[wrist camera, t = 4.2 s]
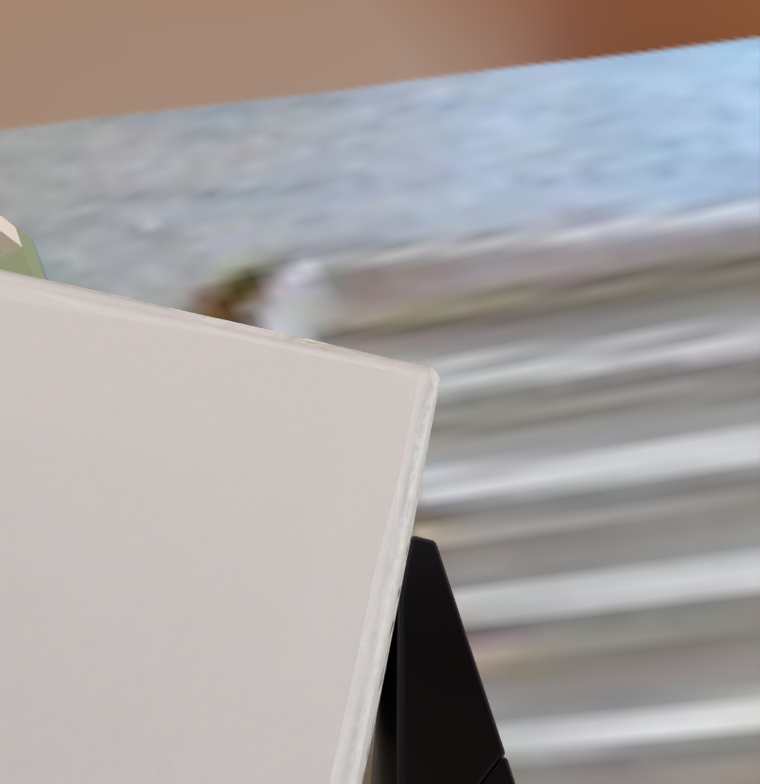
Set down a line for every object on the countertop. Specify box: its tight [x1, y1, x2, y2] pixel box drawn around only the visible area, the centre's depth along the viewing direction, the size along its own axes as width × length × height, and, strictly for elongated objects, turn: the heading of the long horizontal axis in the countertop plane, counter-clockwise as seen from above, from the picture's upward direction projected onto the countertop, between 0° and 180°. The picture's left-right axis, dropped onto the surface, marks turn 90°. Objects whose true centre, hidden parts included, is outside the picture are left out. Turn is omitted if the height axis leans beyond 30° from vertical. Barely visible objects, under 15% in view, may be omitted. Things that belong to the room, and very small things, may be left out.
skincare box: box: [0, 269, 440, 784], centre depth 9 cm, size 6×4×12 cm
